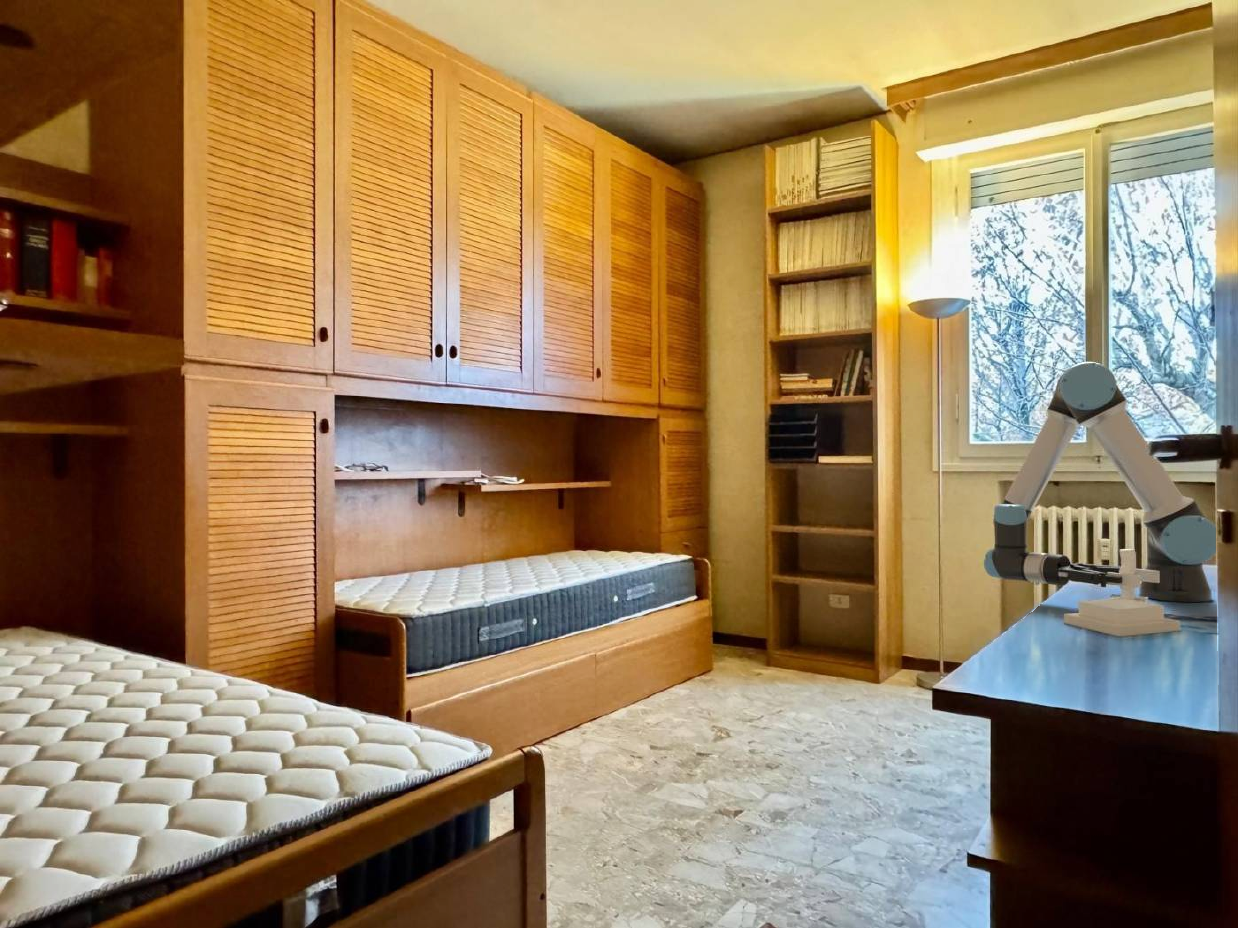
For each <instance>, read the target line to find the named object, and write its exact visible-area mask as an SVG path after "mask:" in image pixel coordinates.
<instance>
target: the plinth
mask: <svg viewBox="0 0 1238 928" xmlns="http://www.w3.org/2000/svg"><path fill="white" fill-rule="evenodd" d="M1164 611H1165V607H1164V605H1162V604H1158V603H1152V602H1148V601H1147V602H1142V601H1137V600H1132V599H1127V598H1113V599H1108V598H1101V599H1091V600H1089V599H1088V600H1080V601H1078V612H1073V613H1064V614H1063V623H1064V624H1066V625H1070V626H1075V627H1079V628H1083V629H1087V630H1090V631H1095V632H1100V633H1103V634H1107V635H1112V636H1115V637H1127V636H1137V635H1147V634H1158V633H1168V632H1179V631H1181V620H1177V619H1172V618H1168V617H1165V612H1164Z"/></svg>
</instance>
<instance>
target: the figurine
mask: <svg viewBox="0 0 1238 928" xmlns="http://www.w3.org/2000/svg"><path fill="white" fill-rule="evenodd" d="M1135 550H1136V549H1135V548H1123V549H1122V548H1121V549H1119V551H1118V552H1119V557H1120V566H1121V567H1120V569H1119V573H1121V574H1131V575H1134V572H1135V570H1136V569H1137V552H1136V551H1135ZM1118 587H1119V589H1120V591H1121V594H1115V593H1113V594H1111V595H1110V596H1109V597H1107V599H1113V598H1127V599H1132V600H1137V601H1142V602H1148V599H1150V598H1149V597H1143V596H1141V595H1135V593H1136V592H1135V588H1136V587H1127V586H1118Z"/></svg>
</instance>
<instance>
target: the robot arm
mask: <svg viewBox="0 0 1238 928" xmlns="http://www.w3.org/2000/svg"><path fill="white" fill-rule="evenodd" d="M1054 390H1055V391H1054V392H1053V393H1054V394H1053V396H1052V398H1051V401H1050V403H1049V406H1048V407H1047V409H1046V412H1047V413H1046V414H1047V417H1046V419H1045V422H1044V423H1043V425H1042V427H1041V430H1040V431H1039V432H1038V435H1037V437H1036V438H1035V441H1034V442H1033V444H1032V446H1031V448H1030V450H1029V452H1028V454H1027V455H1026V457H1025V460H1024V461H1023V463H1022V465H1021V467H1020V469H1019V471H1018V473H1017V475H1016V476H1015V478H1014V480H1013V482H1012V484H1011V485H1010V488H1009V490H1008V492H1007V493H1006V496H1005V497H1004V500H1003V501H1002V503H1000V504H996V505H995V506H994V507H993V508H994V509H993V521H992V522H993V526H994V527H993V530H994V534H993V535H994V546H993V548H991V549H989V550H987V551H986V553H985V555H984V557H985V558H984V560H983V567H984V570H985V572H986V573H987V575H988V576H990V577H991V578H998V579H1002V580H1008V581H1011V580H1012V581H1020V582H1029V583H1034V585H1036V586H1039V585H1040V584H1048V585H1054V586H1062V587H1063V586H1066V585H1067V584H1068V583H1069V582H1070V581H1072V582H1077V583H1084V584H1090V585H1091V584H1092V585H1097V586H1098V585H1100V588H1107V585H1108V586H1109V585H1111V586H1118V587H1119V586H1127V587H1135V588H1138V589H1139V591H1138V592H1139V595H1138V596H1140V597H1149V598H1148V599H1153V600H1157V601H1158V600H1159V601H1165V602H1166V601H1167V602H1181V603H1199V602H1201V603H1202V602H1209V601H1211V600H1212V598H1213V595H1212V589H1211V587H1210V585H1209V582H1208V579H1207V577H1206V574H1205V571H1204V569H1203V568H1204V567H1203V566H1204V565H1203V563H1205V562H1207V561H1209V560H1211V559H1212V558H1213V557H1215V556H1216V554H1217V553H1216V527H1217V526H1216V524H1214V522H1212V521H1211V520H1210V519H1208V518H1207V516H1206V515H1205V514H1204V512H1203V511H1202V509H1201V508H1200V507H1199V505H1198V504H1197V502H1196V501H1195V499H1194V498H1191V497H1187V496H1184V495H1183V494H1182V493H1181V492H1180V490H1179V488H1178V487H1177V486H1176V484H1175V483H1174V481H1173V480H1172V478H1171V477H1170V475H1169V474H1168V473H1167V470H1166V469H1165V468H1164V466H1163V464H1162V463H1161V461H1159V462H1158V461H1157V460H1156V459H1154V457H1151V456H1150V455H1149V453H1148V445H1149V444H1148V443H1147V441H1146V439H1145V438H1144V437H1143V434H1142V433H1141V432H1140V431H1139V429H1138V428H1137V426H1136V425H1135V423H1134V422H1133V420H1132V419H1131V417H1130V416H1129V415H1128V413H1127V410H1126V405H1127V403H1128V400H1127V398H1126V397H1125V395H1124V394H1123V392H1122V390H1120V388H1119V387H1118V385H1117V380H1116V377H1115V375H1114V373H1113V372H1112V371H1111V370H1110V369H1109V368H1108V367H1107V366H1105V365H1104V364H1101V363H1099V362H1094V361H1083V362H1078V363H1076V364H1074V365H1071V366H1070V367H1068V368H1067V369H1066V370H1065V371H1064V372H1063V373H1062V375H1061V376H1060V377H1059V379H1058V381H1057V383H1056V386H1055V389H1054ZM1079 427H1086V428H1088V429H1089V430H1090V431H1091V432H1092V434H1093V436H1094V437H1095V438H1096V440H1097V442H1098V443H1099V445H1100V447H1101V448H1102V450H1103V451H1104V452H1105V454H1106V455H1107V457H1108V459H1109V460H1110V462H1111V463H1112V464H1113V466H1114V467H1115V470H1116V471H1117V472H1118V473H1119V475H1120V476H1121V478H1122V480H1123V481H1124V483H1125V484H1126V486H1127V487H1128V489H1129V491H1130V492H1131V494H1132V495H1133V496H1134V498H1135V499H1136V501H1137V502H1138V504H1139V506H1140V507H1141V508H1142V510H1143V512H1144V516H1143V518H1142V523H1143V524H1144V526H1145V528H1146V568H1145V569H1142V568H1136V570H1135V572H1134V575H1131V574H1121V573H1119V569H1120V567H1121V565H1107V564H1106V565H1103V564H1095V563H1094V564H1092V563H1091V564H1090V563H1083V562H1075V563H1071V561H1070V558H1069V557H1068V556H1066V555H1064V554H1053V553H1051V554H1049V553H1046V552H1037V551H1036V552H1035V551H1027V547H1028V545H1027V530H1028V529H1027V522H1028V520H1029V518H1030V516H1031V515H1032V513H1033V510H1034V509H1035V507H1036V506H1037V503H1038V501H1039V500H1040V498H1041V496H1042V494H1043V492H1044V490H1045V489H1046V486H1047V485H1048V484H1049V483H1048V482H1049V481H1050V479H1051V478H1052V475H1053V474H1054V472H1055V470H1056V468H1057V466H1058V464H1059V463H1060V461H1061V459H1062V457H1063V456H1064V454H1065V451H1066V450H1067V448H1068V446H1069V445H1070V442H1071V441H1072V439H1073V437H1074V435H1075V433H1076V432H1077V430H1078V428H1079Z"/></svg>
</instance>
